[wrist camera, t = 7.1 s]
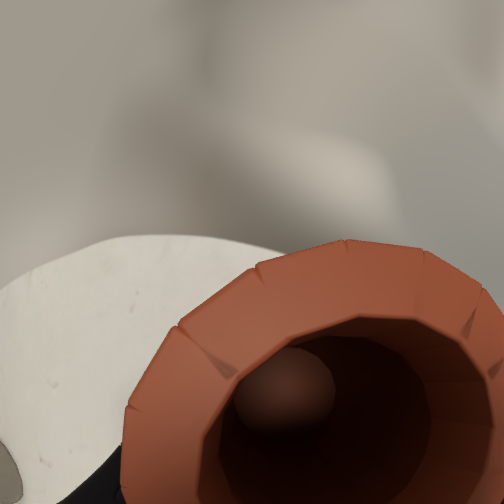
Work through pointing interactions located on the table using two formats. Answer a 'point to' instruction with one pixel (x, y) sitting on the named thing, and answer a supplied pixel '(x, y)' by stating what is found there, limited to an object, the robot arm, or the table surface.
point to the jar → (326, 387)
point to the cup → (9, 478)
